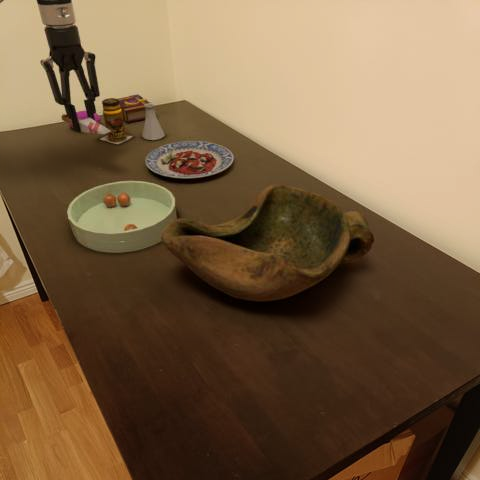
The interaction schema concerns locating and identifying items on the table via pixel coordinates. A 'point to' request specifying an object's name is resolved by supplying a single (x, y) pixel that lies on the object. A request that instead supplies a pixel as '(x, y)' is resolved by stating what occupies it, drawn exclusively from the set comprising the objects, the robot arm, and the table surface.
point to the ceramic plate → (189, 159)
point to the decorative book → (133, 108)
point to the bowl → (271, 244)
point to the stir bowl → (122, 216)
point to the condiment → (114, 121)
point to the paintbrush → (88, 125)
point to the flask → (152, 124)
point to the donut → (85, 117)
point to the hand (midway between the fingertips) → (85, 128)
